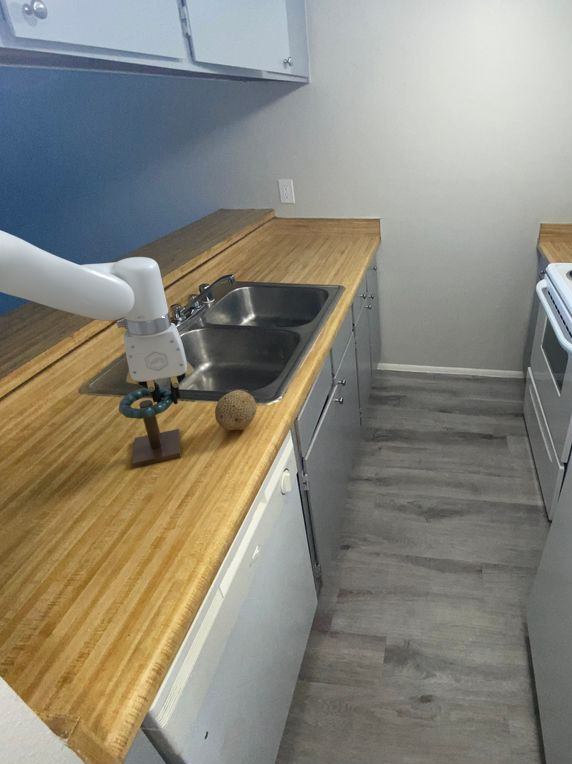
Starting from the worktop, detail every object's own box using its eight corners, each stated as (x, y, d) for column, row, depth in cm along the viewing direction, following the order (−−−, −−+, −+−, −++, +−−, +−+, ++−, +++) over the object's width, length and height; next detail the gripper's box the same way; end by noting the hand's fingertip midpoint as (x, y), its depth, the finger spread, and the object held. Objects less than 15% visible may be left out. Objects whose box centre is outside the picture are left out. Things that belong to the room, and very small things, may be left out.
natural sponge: (242, 445, 105) (236, 409, 100) (209, 436, 107) (202, 399, 103) (266, 423, 112) (262, 387, 108) (235, 414, 115) (229, 379, 110)
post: (133, 467, 97) (119, 419, 92) (135, 441, 105) (122, 396, 99) (180, 457, 101) (169, 410, 95) (179, 432, 108) (169, 387, 102)
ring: (118, 425, 92) (115, 416, 91) (122, 398, 100) (119, 390, 99) (174, 413, 95) (172, 405, 94) (174, 389, 103) (172, 381, 103)
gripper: (98, 337, 84) (123, 420, 93) (195, 324, 90) (210, 403, 99) (103, 320, 90) (126, 400, 99) (193, 310, 96) (207, 386, 105)
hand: (167, 401), depth 99 cm, fingers closed on ring, 2 cm apart
